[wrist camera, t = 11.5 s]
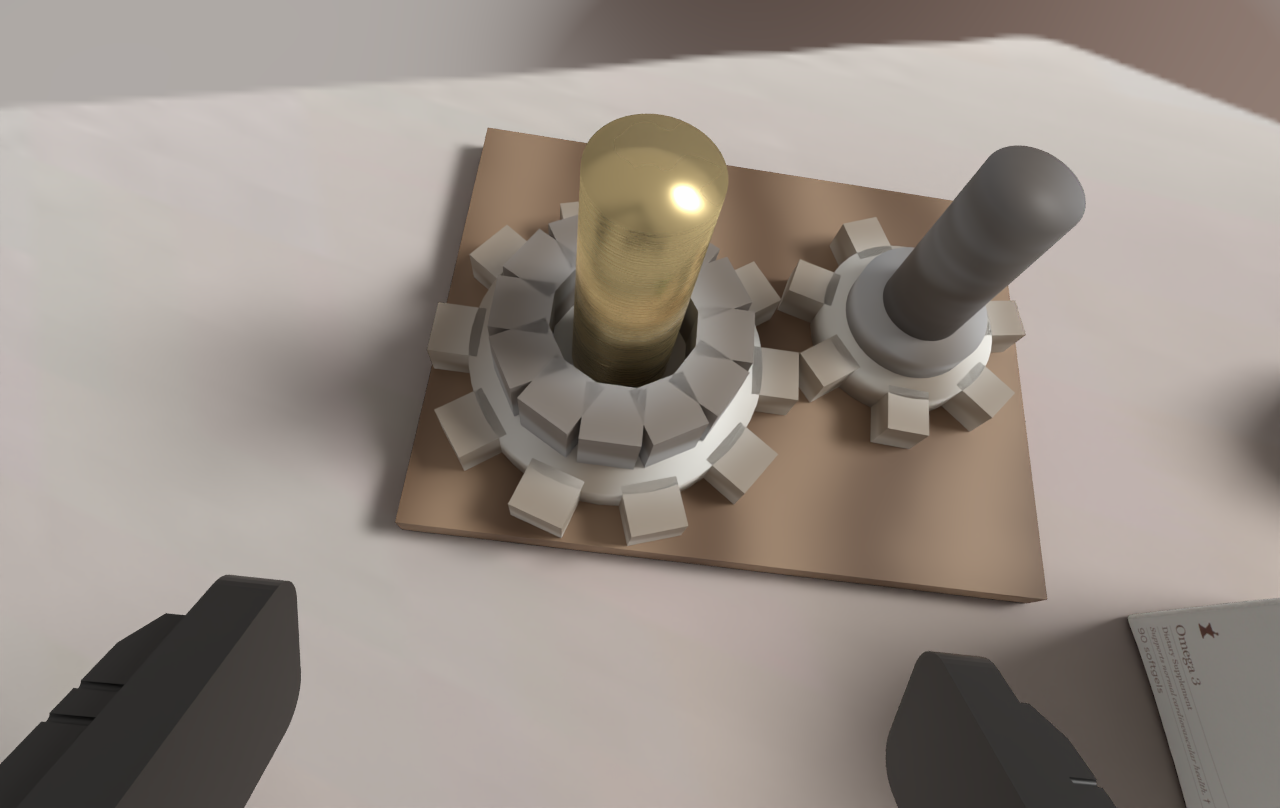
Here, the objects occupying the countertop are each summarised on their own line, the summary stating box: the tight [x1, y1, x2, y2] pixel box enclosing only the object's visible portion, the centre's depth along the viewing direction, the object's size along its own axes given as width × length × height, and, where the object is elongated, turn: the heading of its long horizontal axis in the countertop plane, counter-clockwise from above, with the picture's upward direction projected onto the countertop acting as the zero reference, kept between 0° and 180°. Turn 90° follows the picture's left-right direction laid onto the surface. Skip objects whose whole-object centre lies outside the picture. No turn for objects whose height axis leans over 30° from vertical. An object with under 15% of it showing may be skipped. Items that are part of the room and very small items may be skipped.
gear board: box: [395, 128, 1086, 603], centre depth 25 cm, size 24×18×11 cm
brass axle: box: [572, 114, 728, 388], centre depth 21 cm, size 4×4×10 cm
